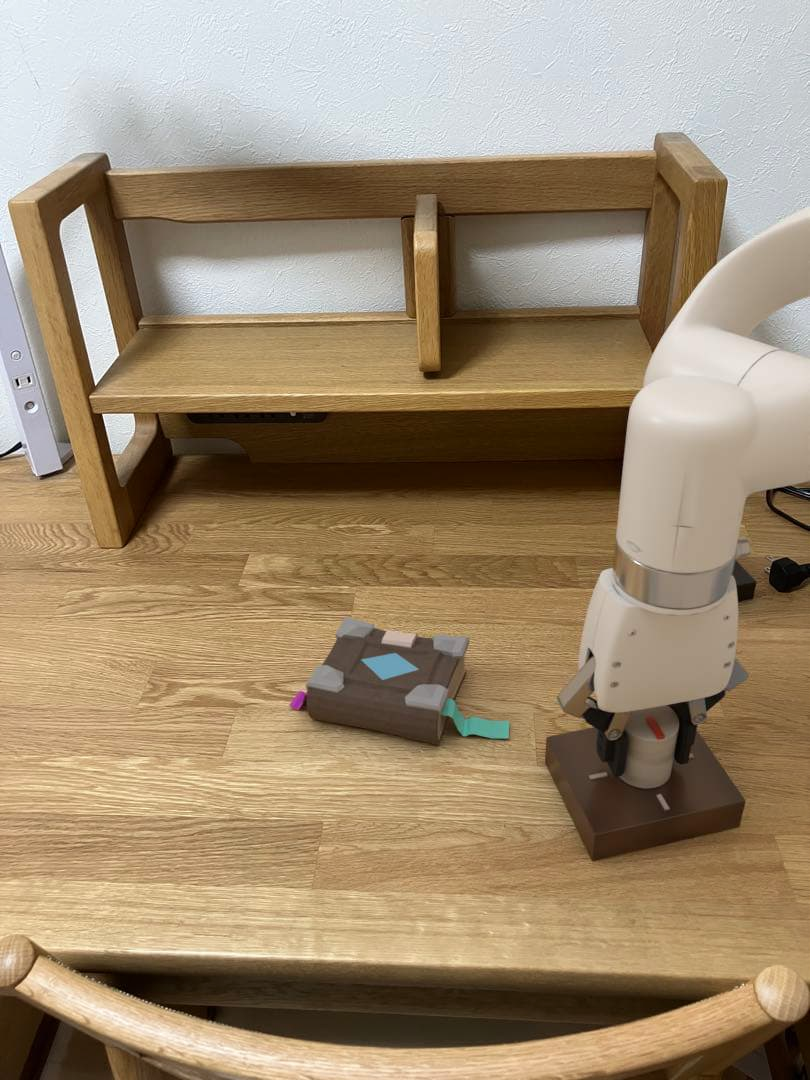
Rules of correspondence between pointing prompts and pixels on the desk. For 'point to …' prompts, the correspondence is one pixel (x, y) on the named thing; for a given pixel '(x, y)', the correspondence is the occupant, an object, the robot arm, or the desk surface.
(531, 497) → the desk surface
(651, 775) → the knob
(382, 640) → the book
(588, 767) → the panel
